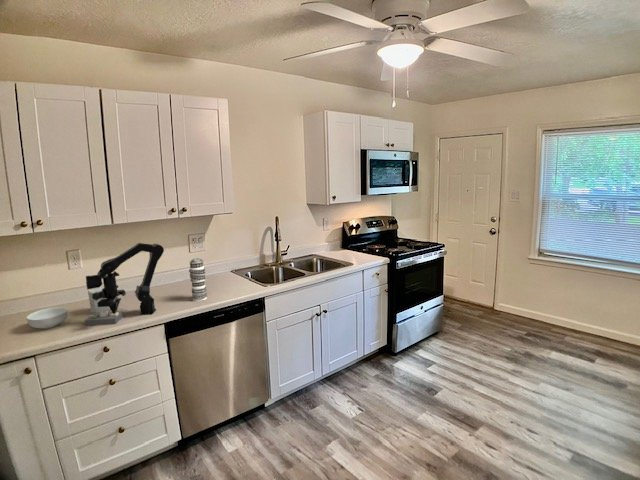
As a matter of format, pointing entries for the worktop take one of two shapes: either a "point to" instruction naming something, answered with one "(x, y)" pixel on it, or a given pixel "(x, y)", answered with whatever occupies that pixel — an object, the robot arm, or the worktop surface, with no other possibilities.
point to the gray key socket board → (104, 319)
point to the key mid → (104, 313)
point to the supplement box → (94, 302)
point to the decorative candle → (198, 279)
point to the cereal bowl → (47, 317)
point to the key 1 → (94, 315)
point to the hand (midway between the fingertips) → (114, 313)
